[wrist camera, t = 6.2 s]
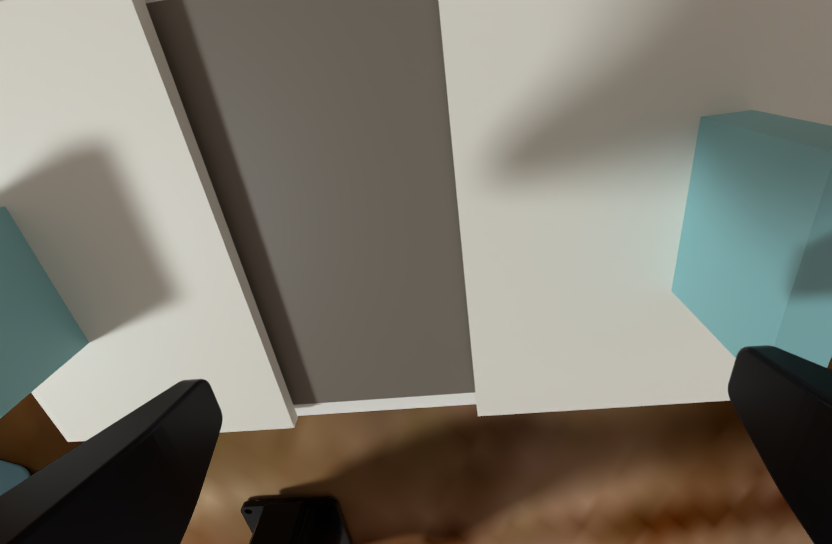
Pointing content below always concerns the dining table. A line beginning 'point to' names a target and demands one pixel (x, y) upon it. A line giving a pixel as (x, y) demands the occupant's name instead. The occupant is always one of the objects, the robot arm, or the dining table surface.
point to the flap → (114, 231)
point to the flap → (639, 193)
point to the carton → (334, 188)
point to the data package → (11, 475)
